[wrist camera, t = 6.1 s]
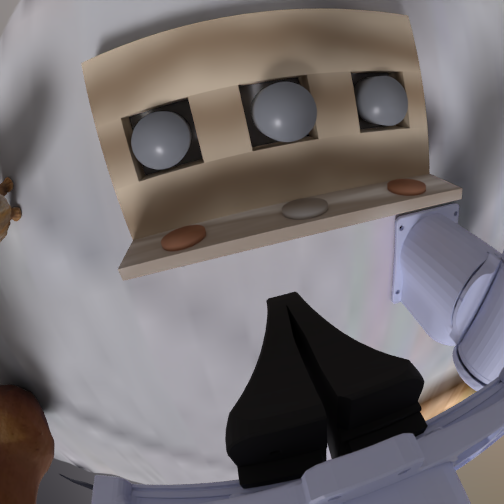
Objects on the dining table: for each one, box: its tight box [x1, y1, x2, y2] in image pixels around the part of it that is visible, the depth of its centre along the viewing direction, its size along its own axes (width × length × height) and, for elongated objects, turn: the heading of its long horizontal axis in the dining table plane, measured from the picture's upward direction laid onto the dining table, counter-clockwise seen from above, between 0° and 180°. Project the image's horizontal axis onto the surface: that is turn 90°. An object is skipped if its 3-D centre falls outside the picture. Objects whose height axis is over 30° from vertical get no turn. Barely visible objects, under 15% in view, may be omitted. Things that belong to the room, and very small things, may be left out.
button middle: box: [251, 82, 317, 142], centre depth 16 cm, size 4×4×2 cm
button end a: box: [354, 76, 408, 126], centre depth 17 cm, size 4×4×2 cm
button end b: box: [131, 111, 192, 169], centre depth 17 cm, size 4×4×2 cm
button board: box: [81, 9, 462, 281], centre depth 16 cm, size 14×23×6 cm, turn 102°
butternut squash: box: [0, 384, 54, 504], centre depth 18 cm, size 14×13×25 cm
